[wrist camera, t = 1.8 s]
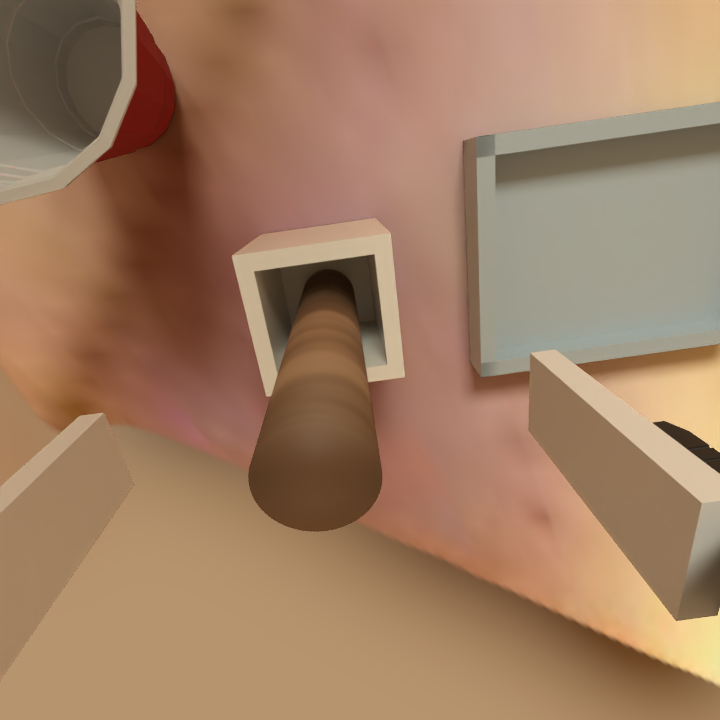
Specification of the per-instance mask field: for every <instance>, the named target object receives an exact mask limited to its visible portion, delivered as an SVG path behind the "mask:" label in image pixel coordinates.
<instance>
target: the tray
mask: <svg viewBox="0 0 720 720" xmlns="http://www.w3.org/2000/svg"><path fill="white" fill-rule="evenodd" d="M463 155H464V186H465V216H466V247H467V277H468V308H469V338H470V363H471V364H472V365H473V367H474V368H475V369H476V371H477V372H478V374H479V375H480V376H481V377H488V376H496V375H503V374H510V373H517V372H524V371H530V353H533V352H540V351H547V350H554V349H555V350H557V351H558V352H559V353H561V354H562V355H563V356H565V357H566V358H567V359H569V360H570V361H571V362H573V363H574V364H581V363H588V362H595V361H602V360H609V359H616V358H623V357H630V356H637V355H645V354H652V353H659V352H666V351H673V350H680V349H687V348H694V347H701V346H708V345H716V344H720V102H715V103H709V104H702V105H695V106H688V107H681V108H674V109H667V110H660V111H653V112H646V113H639V114H632V115H625V116H618V117H611V118H604V119H597V120H590V121H583V122H577V123H570V124H563V125H556V126H549V127H542V128H535V129H528V130H521V131H514V132H507V133H500V134H493V135H486V136H479V137H474V138H471V139H468V140H464V141H463Z"/></svg>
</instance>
